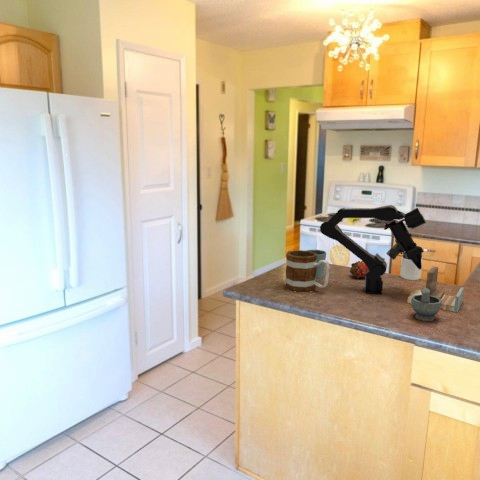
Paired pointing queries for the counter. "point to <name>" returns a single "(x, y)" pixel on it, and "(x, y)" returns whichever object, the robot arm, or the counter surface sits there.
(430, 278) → the bookend block
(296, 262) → the mug
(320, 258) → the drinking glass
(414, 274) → the jar
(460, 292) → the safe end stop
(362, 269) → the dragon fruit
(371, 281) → the robot arm
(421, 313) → the mortar and pestle
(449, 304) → the board
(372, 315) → the counter surface
